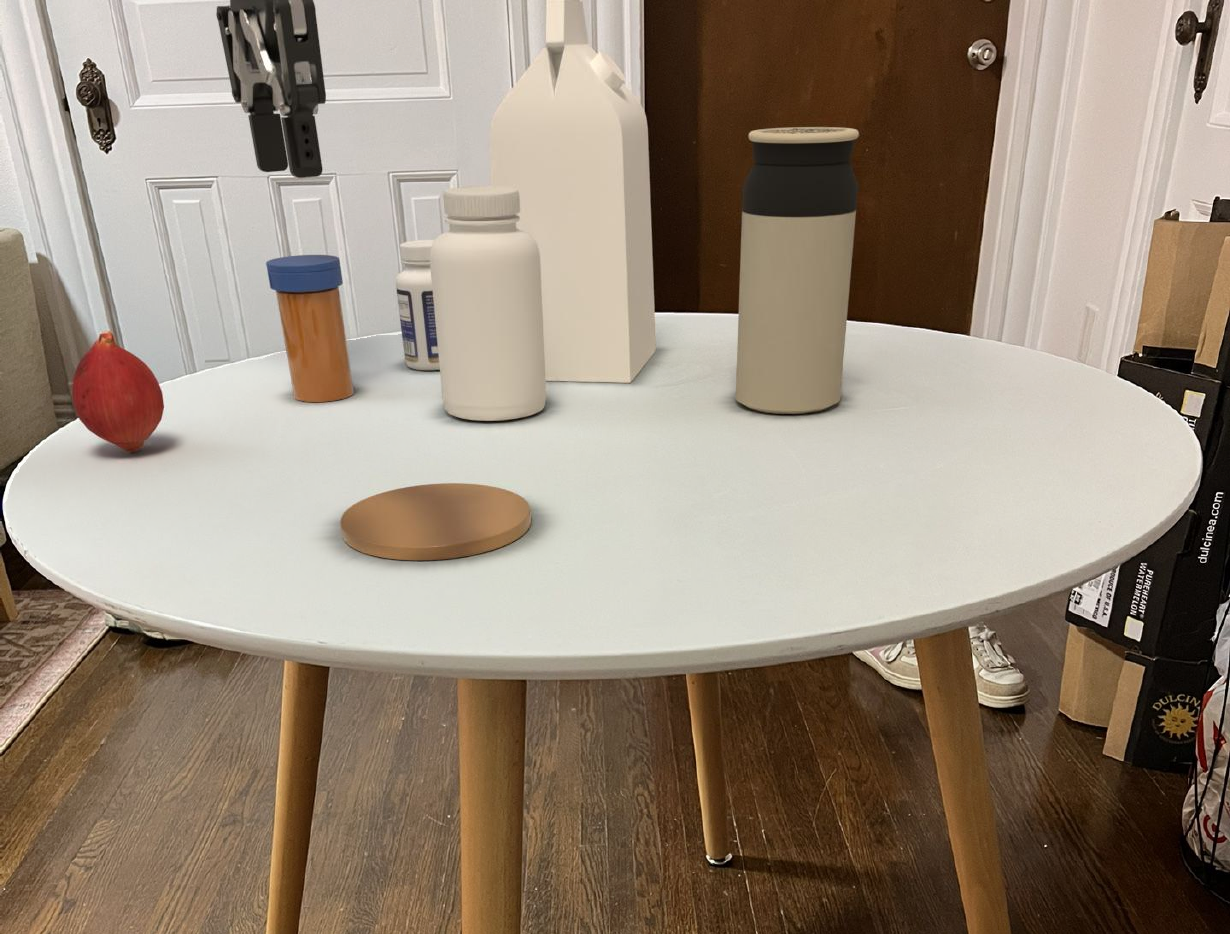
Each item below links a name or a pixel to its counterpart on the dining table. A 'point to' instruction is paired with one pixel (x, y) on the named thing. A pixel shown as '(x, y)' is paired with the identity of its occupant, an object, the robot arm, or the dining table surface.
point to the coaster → (435, 521)
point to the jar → (316, 344)
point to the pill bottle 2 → (488, 307)
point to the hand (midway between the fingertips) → (289, 173)
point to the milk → (582, 201)
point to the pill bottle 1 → (417, 306)
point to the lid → (304, 273)
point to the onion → (117, 395)
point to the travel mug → (795, 268)
